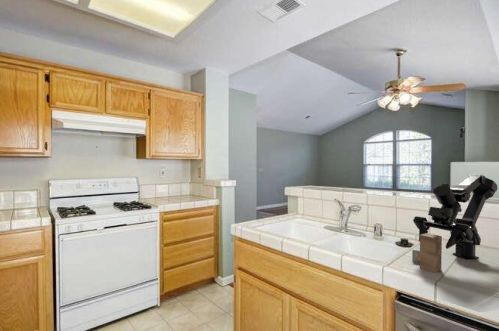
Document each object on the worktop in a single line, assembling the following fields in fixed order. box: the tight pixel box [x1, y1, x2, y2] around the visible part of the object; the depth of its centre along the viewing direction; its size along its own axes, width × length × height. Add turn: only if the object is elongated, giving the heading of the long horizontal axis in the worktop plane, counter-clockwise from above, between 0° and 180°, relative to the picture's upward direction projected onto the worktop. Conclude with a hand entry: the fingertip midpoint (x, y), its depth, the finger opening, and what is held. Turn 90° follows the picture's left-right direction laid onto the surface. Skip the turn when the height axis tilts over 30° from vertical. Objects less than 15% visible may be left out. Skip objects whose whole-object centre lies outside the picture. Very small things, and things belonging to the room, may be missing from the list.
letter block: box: [411, 246, 420, 263], centre depth 108 cm, size 5×4×4 cm
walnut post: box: [419, 232, 443, 273], centre depth 100 cm, size 5×5×12 cm
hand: (432, 244), depth 100 cm, fingers open, 9 cm apart
